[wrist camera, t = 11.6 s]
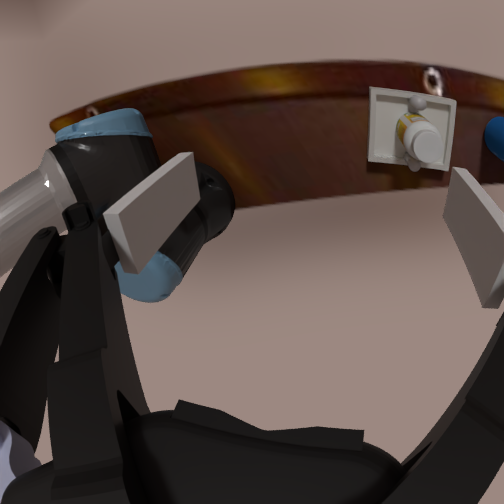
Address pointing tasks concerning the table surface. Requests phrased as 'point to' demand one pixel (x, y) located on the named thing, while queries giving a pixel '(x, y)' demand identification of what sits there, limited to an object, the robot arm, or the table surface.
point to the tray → (385, 119)
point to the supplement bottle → (419, 137)
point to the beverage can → (495, 136)
